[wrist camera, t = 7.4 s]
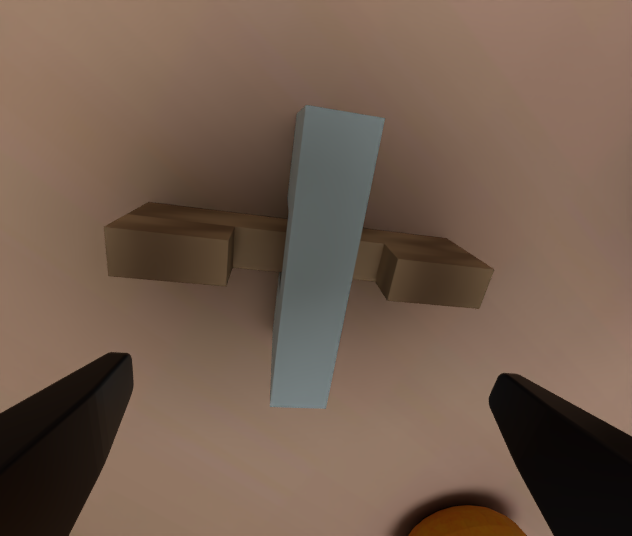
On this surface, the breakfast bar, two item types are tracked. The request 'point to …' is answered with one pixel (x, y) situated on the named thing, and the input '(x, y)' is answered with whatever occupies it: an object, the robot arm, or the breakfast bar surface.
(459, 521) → the fruit
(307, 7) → the breakfast bar surface
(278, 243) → the walnut u-shaped block
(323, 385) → the blue-grey archway
